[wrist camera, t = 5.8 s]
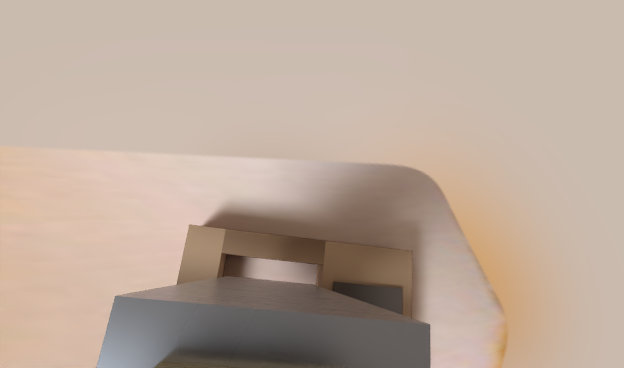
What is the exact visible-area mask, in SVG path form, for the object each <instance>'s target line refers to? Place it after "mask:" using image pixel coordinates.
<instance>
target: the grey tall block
mask: <svg viewBox="0 0 624 368" xmlns="http://www.w3.org/2000/svg"><path fill="white" fill-rule="evenodd" d="M97 368H430V324H427V323H424V322H421V321H418V320H415V319H413V318H410V317H407V316H404V315H401V314H398V313H395V312H392V311H389V310H386V309H383V308H380V307H377V306H375V305H372V304H369V303H366V302H363V301H360V300H357V299H354V298H351V297H348V296H345V295H342V294H339V293H337V292H334V291H331V290H328V289H325V288H322V287H319V286H316V285H312V284H302V283H292V282H282V281H272V280H262V279H252V278H242V277H233V276H223V277H218V278H212V279H206V280H201V281H195V282H190V283H184V284H179V285H173V286H168V287H162V288H156V289H151V290H145V291H140V292H134V293H129V294H123V295H117V296H115V299H114V303H113V307H112V311H111V314H110V318H109V322H108V326H107V330H106V333H105V337H104V341H103V345H102V349H101V352H100V356H99V360H98V364H97Z"/></svg>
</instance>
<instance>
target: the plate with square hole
mask: <svg viewBox="0 0 624 368" xmlns="http://www.w3.org/2000/svg"><path fill="white" fill-rule="evenodd" d="M226 255H236V256H245V257H254V258H263V259H272V260H281V261H291V262H300V263H309V264H318V266H317V277H316V286H319V287H322V288H325V289H328V290H331V291H334V292H337V293H339V294H342V295H345V296H348V297H351V298H354V299H357V300H360V301H363V302H366V303H369V304H372V305H375V306H377V307H380V308H383V309H386V310H389V311H392V312H395V313H398V314H401V315H404V316H407V317H410V318H412V251H409V250H400V249H392V248H383V247H375V246H366V245H358V244H349V243H341V242H332V241H324V240H315V239H307V238H298V237H290V236H281V235H273V234H264V233H256V232H247V231H239V230H230V229H222V228H214V227H205V226H197V225H189V229H188V233H187V238H186V243H185V248H184V252H183V257H182V262H181V266H180V271H179V276H178V281H177V285H179V284H184V283H190V282H195V281H201V280H206V279H212V278H218V277H223V272H224V266H225V260H226Z"/></svg>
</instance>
